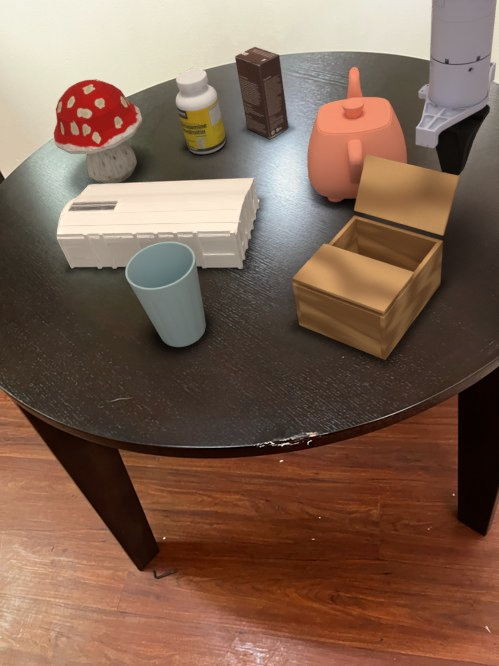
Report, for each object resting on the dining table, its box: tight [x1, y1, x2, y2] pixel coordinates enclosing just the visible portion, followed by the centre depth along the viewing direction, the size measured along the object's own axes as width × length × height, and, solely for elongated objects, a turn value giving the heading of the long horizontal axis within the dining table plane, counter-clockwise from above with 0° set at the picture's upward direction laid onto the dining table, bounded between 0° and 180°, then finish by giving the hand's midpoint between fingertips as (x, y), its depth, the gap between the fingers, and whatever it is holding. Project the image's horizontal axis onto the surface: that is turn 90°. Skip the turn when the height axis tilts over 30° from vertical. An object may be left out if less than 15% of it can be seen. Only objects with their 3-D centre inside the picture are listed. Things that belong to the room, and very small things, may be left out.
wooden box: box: [291, 215, 444, 361], centre depth 72 cm, size 13×11×7 cm
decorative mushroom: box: [53, 78, 143, 184], centre depth 98 cm, size 14×14×15 cm
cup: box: [124, 241, 207, 348], centre depth 73 cm, size 8×8×10 cm
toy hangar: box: [56, 177, 260, 270], centre depth 88 cm, size 25×15×7 cm, turn 80°
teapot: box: [306, 66, 408, 203], centre depth 87 cm, size 13×20×12 cm, turn 174°
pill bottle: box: [175, 68, 227, 155], centre depth 100 cm, size 6×6×12 cm
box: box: [234, 46, 289, 140], centre depth 101 cm, size 6×4×12 cm
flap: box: [353, 155, 461, 236], centre depth 71 cm, size 6×11×1 cm
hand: (452, 170), depth 73 cm, fingers closed
